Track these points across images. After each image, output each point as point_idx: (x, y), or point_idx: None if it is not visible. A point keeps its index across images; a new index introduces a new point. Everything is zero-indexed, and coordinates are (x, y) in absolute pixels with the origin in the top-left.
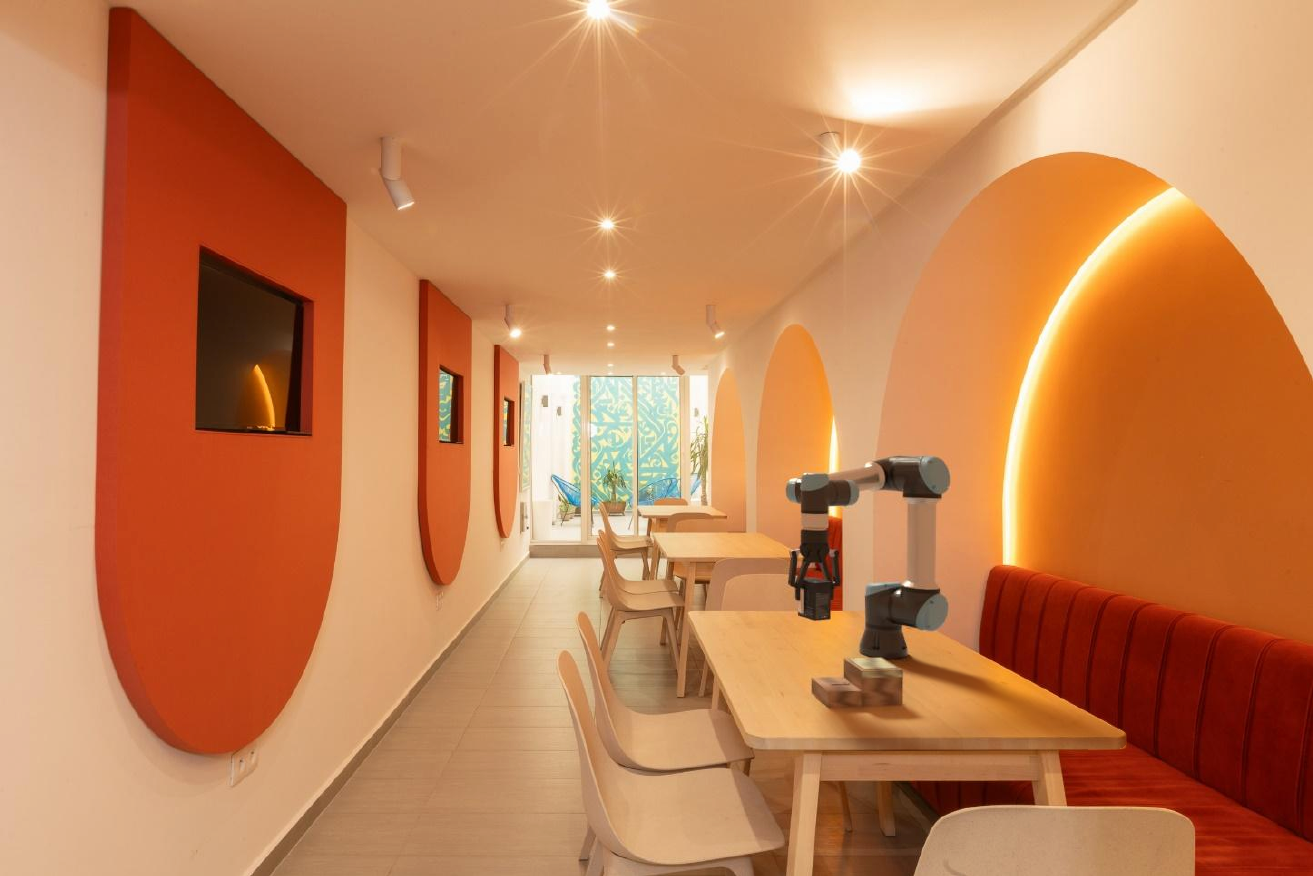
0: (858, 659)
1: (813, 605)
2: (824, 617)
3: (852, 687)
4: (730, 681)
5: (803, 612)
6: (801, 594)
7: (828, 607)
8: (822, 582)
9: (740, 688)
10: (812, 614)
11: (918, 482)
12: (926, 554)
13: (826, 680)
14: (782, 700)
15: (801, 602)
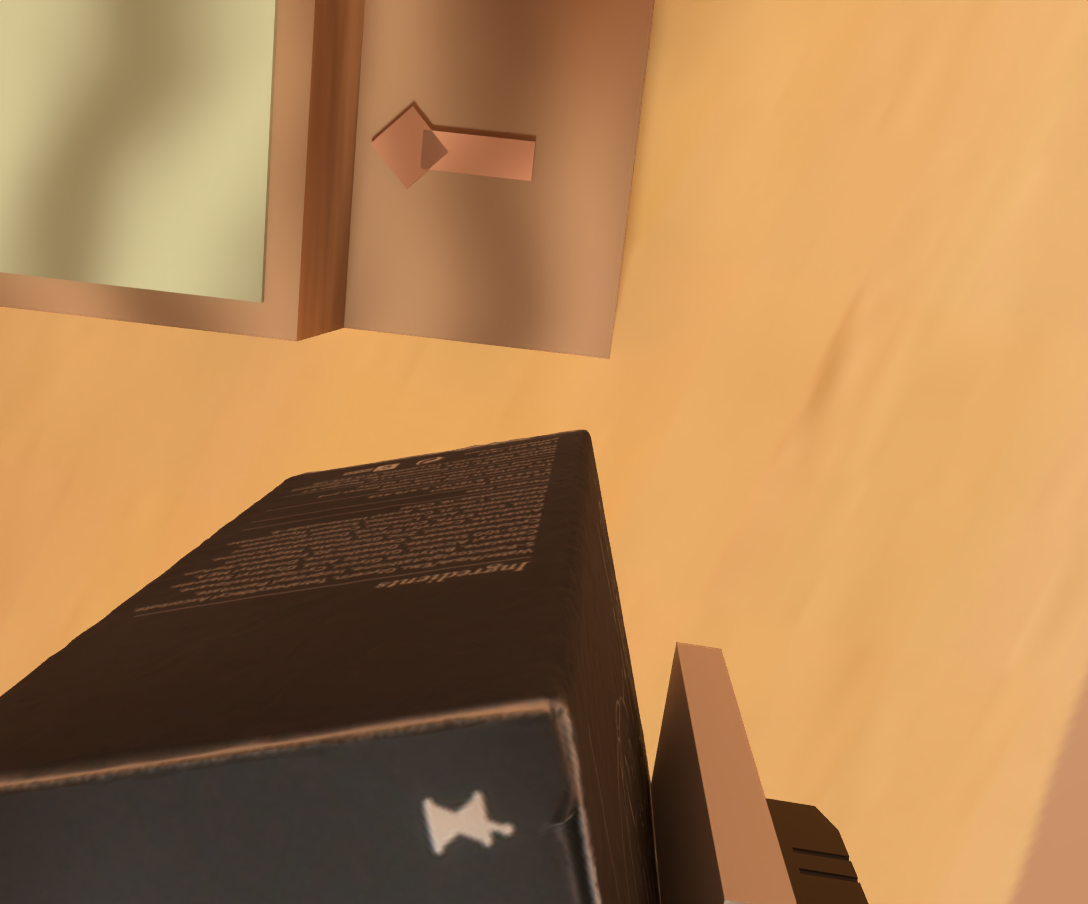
0: (181, 253)
1: (589, 505)
2: (393, 466)
3: (402, 41)
4: (1063, 711)
5: (680, 646)
6: (765, 828)
7: (268, 519)
8: (205, 744)
9: (1068, 549)
10: (597, 489)
11: None
12: None
13: (524, 265)
14: (897, 232)
15: (735, 737)
